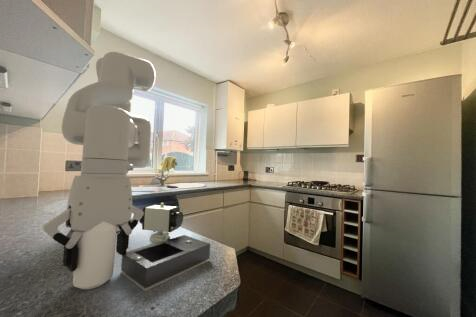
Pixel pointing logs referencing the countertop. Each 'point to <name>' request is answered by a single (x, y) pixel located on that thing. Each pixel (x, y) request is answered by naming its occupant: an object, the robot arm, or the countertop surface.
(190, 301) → the countertop surface
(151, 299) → the countertop surface
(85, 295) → the countertop surface
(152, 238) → the pneumatic valve
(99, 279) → the beverage can
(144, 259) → the grey pocketed holder block
